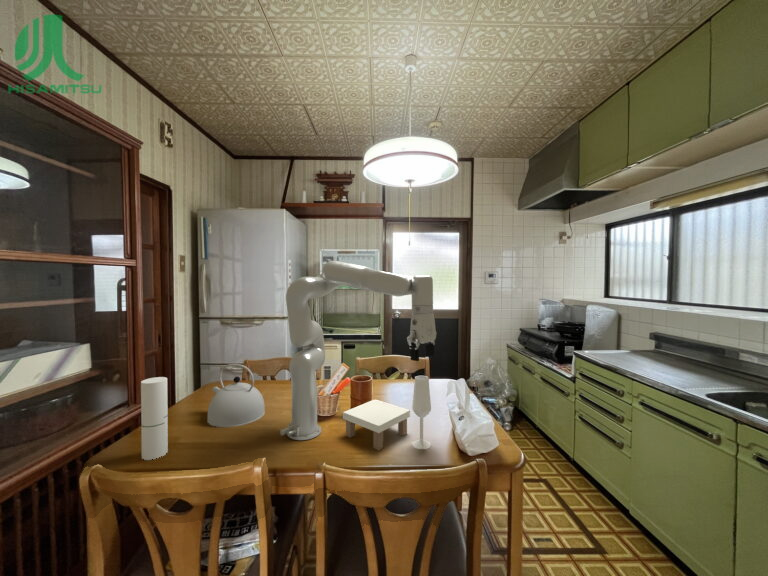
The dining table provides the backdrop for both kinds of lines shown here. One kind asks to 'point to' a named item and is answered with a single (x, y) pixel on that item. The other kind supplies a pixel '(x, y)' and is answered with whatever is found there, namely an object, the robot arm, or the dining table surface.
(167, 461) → the dining table surface
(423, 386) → the champagne flute
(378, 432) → the footstool
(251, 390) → the kettle
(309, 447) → the dining table surface
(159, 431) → the cylindrical container
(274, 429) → the dining table surface
